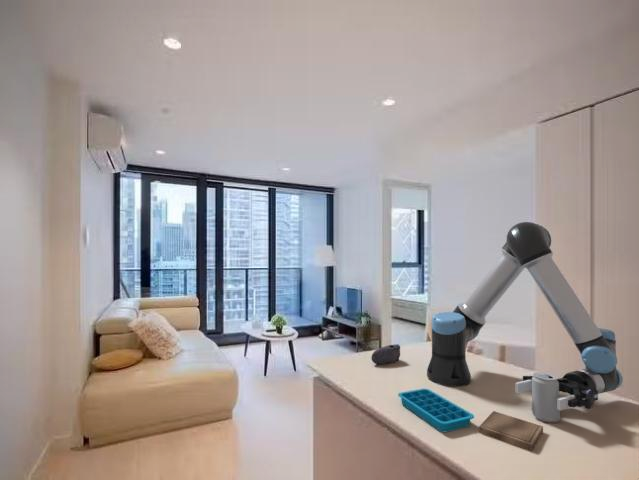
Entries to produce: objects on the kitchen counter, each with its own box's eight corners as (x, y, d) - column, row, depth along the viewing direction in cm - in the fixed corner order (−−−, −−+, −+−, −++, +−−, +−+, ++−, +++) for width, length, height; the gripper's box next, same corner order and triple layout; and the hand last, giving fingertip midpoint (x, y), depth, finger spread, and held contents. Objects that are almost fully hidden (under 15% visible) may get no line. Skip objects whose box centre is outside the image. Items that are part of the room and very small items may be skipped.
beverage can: (563, 425, 92) (563, 380, 93) (537, 422, 94) (537, 378, 94) (552, 414, 99) (552, 372, 99) (528, 412, 100) (528, 370, 100)
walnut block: (479, 432, 89) (479, 425, 89) (493, 416, 97) (493, 410, 97) (532, 451, 80) (532, 444, 80) (543, 432, 89) (543, 425, 89)
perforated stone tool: (375, 367, 137) (375, 350, 137) (367, 363, 142) (367, 346, 142) (404, 362, 144) (404, 345, 144) (396, 358, 148) (396, 342, 148)
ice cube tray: (426, 397, 110) (426, 387, 110) (476, 427, 92) (476, 416, 92) (396, 403, 106) (396, 393, 106) (442, 436, 87) (442, 424, 87)
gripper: (630, 413, 93) (583, 430, 84) (543, 382, 114) (498, 393, 105) (630, 385, 93) (583, 399, 84) (543, 359, 115) (498, 368, 106)
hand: (536, 395), depth 95 cm, fingers open, 11 cm apart
